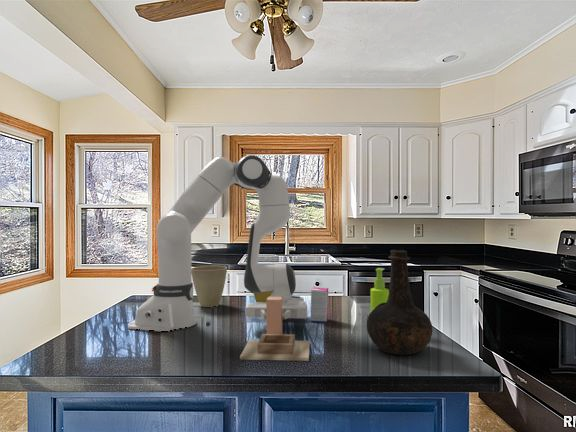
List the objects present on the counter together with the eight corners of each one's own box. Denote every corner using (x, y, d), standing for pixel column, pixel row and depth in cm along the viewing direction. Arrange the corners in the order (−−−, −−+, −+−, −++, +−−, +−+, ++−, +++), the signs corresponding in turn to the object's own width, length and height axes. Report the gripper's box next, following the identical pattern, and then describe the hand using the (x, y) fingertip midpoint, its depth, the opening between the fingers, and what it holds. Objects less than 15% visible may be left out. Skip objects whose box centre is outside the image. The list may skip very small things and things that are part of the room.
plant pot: (198, 301, 176) (198, 265, 176) (231, 302, 174) (231, 265, 174) (185, 309, 161) (185, 270, 161) (221, 310, 159) (220, 270, 159)
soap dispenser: (390, 326, 135) (390, 267, 135) (386, 332, 128) (386, 270, 128) (373, 324, 137) (373, 266, 137) (368, 330, 131) (368, 269, 131)
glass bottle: (400, 336, 124) (400, 246, 124) (447, 354, 108) (447, 250, 108) (353, 345, 116) (353, 248, 116) (396, 366, 100) (396, 254, 100)
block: (266, 338, 122) (266, 299, 122) (268, 334, 127) (268, 296, 127) (281, 339, 122) (281, 299, 122) (282, 334, 126) (282, 296, 126)
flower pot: (252, 307, 164) (252, 285, 164) (261, 303, 172) (261, 282, 172) (271, 309, 161) (271, 286, 161) (280, 304, 169) (280, 283, 169)
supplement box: (326, 323, 140) (326, 290, 140) (310, 322, 141) (310, 289, 141) (328, 318, 145) (328, 287, 145) (312, 318, 147) (312, 287, 147)
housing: (240, 359, 105) (239, 346, 105) (249, 342, 119) (249, 331, 119) (308, 360, 104) (308, 348, 104) (309, 343, 117) (309, 332, 117)
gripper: (248, 296, 138) (241, 305, 124) (307, 297, 136) (306, 306, 123) (248, 315, 138) (241, 326, 124) (308, 315, 136) (306, 327, 123)
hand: (274, 316), depth 123 cm, fingers closed on block, 4 cm apart
